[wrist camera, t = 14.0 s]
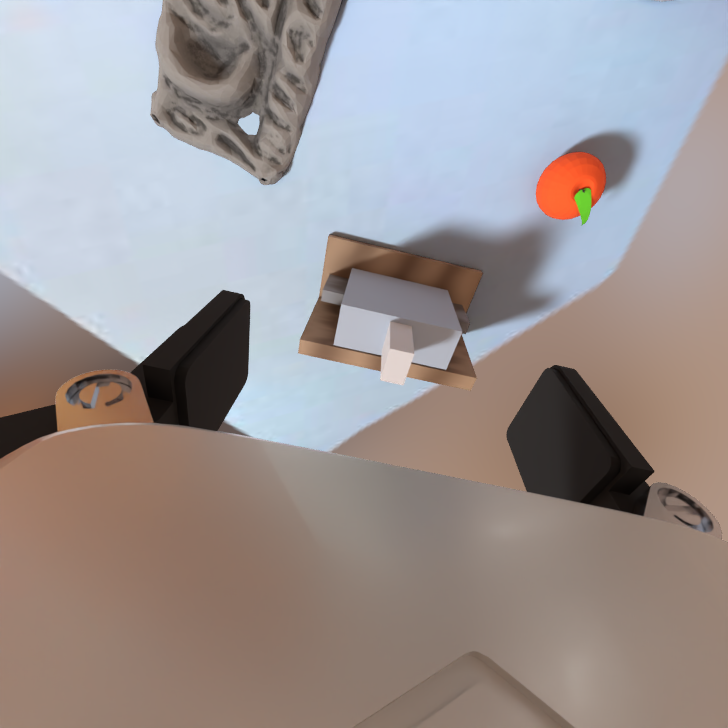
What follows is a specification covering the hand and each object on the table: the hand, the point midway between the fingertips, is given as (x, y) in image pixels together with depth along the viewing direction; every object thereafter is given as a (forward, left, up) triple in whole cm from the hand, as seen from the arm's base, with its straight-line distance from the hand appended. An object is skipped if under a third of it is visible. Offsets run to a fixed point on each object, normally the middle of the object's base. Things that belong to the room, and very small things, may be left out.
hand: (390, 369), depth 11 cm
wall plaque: (+20, -10, -41) cm, 47 cm away
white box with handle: (-4, +13, -39) cm, 41 cm away
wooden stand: (-4, +13, -40) cm, 43 cm away
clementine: (-20, -5, -40) cm, 45 cm away
